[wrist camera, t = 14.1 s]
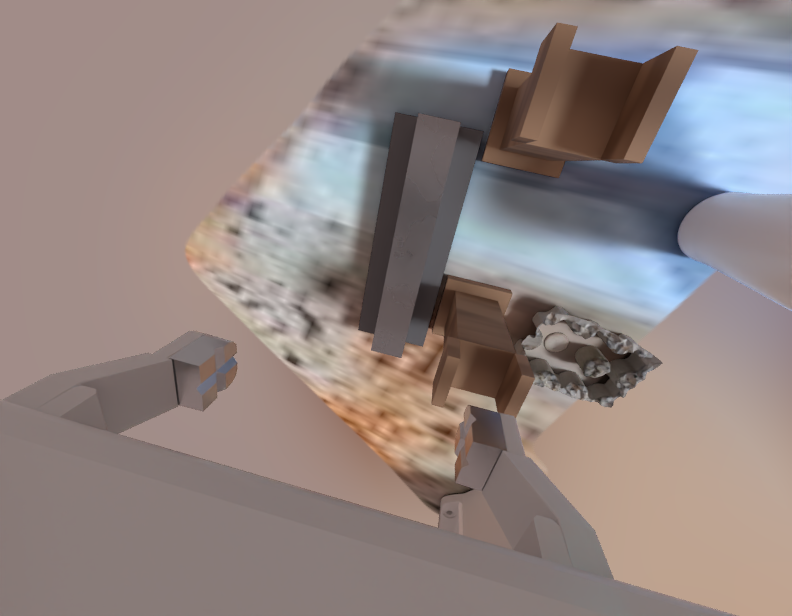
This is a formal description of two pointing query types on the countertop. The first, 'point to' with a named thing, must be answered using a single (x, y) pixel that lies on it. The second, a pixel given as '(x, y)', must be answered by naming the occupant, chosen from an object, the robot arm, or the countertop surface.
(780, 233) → the drinking glass
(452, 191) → the grey flat bar
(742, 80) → the countertop surface
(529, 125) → the post
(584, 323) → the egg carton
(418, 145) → the rail
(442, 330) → the post
